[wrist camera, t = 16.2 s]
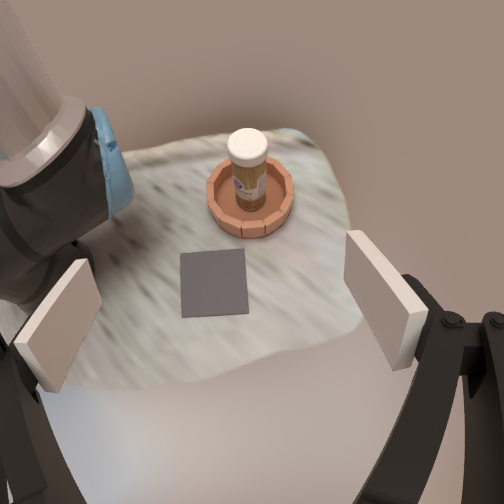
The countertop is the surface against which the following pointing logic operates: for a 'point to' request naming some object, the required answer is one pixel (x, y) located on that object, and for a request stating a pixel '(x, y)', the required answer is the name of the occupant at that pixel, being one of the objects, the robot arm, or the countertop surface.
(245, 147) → the sprinkles bottle
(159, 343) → the countertop surface
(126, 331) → the countertop surface
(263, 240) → the countertop surface
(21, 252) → the robot arm
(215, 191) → the terracotta bowl
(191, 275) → the rubber mat
